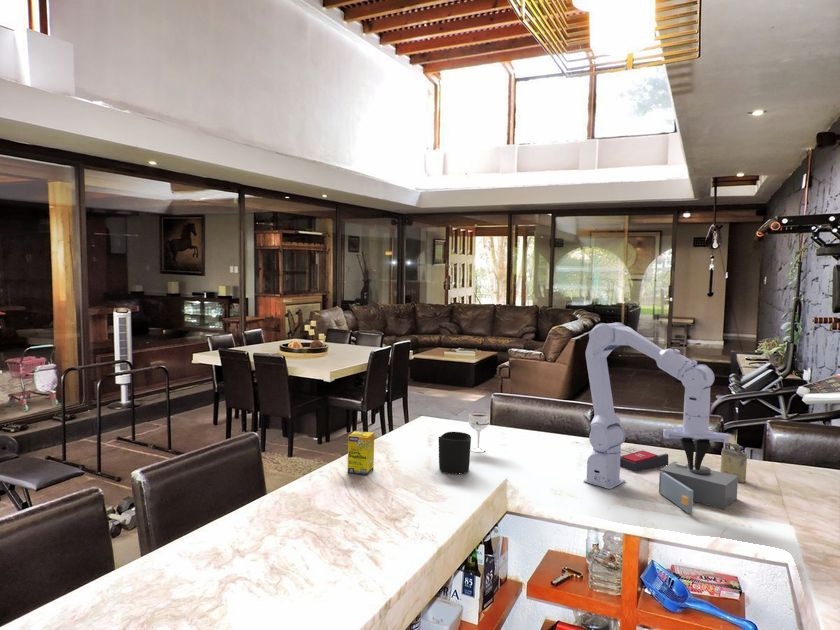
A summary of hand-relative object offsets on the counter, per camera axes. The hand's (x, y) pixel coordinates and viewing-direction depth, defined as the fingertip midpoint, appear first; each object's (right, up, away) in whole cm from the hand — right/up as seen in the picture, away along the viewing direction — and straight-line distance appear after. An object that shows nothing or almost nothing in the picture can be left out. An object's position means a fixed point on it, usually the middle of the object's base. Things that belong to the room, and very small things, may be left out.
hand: (693, 468), depth 140 cm
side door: (-4, -9, +2) cm, 10 cm away
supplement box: (-85, -7, +21) cm, 88 cm away
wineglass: (-49, -6, +44) cm, 66 cm away
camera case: (+5, -9, +8) cm, 13 cm away
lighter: (+21, -9, +21) cm, 31 cm away
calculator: (-1, -8, +34) cm, 35 cm away
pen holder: (-58, -7, +24) cm, 63 cm away
